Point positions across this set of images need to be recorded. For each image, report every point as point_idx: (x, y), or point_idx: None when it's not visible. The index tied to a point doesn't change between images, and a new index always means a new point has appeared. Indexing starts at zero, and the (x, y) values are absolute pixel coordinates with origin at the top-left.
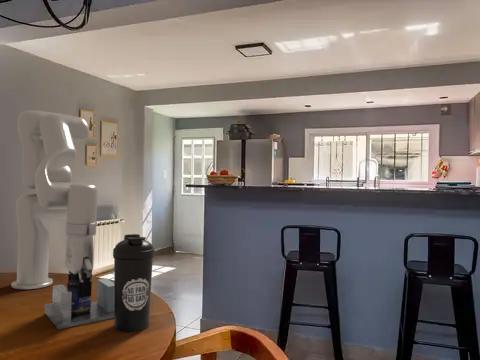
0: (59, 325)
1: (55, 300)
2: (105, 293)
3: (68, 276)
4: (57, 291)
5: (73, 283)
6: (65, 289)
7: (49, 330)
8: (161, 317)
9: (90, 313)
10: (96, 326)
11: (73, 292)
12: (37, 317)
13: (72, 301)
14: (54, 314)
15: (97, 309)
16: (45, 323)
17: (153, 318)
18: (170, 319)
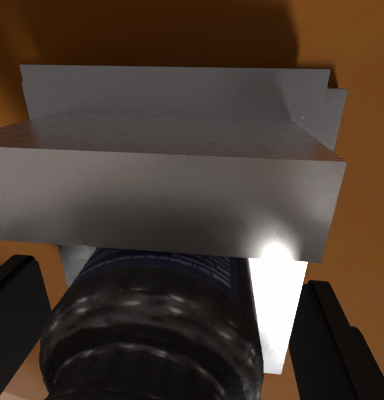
0: (22, 86)
1: (192, 126)
2: None
3: (369, 387)
4: (100, 146)
5: (62, 323)
6: (86, 223)
7: (38, 35)
8: (28, 384)
9: None
10: None
11: (91, 260)
12: (298, 21)
13: None
14: (49, 73)
15: None
16: (159, 42)
17: (28, 369)
18: (3, 390)
